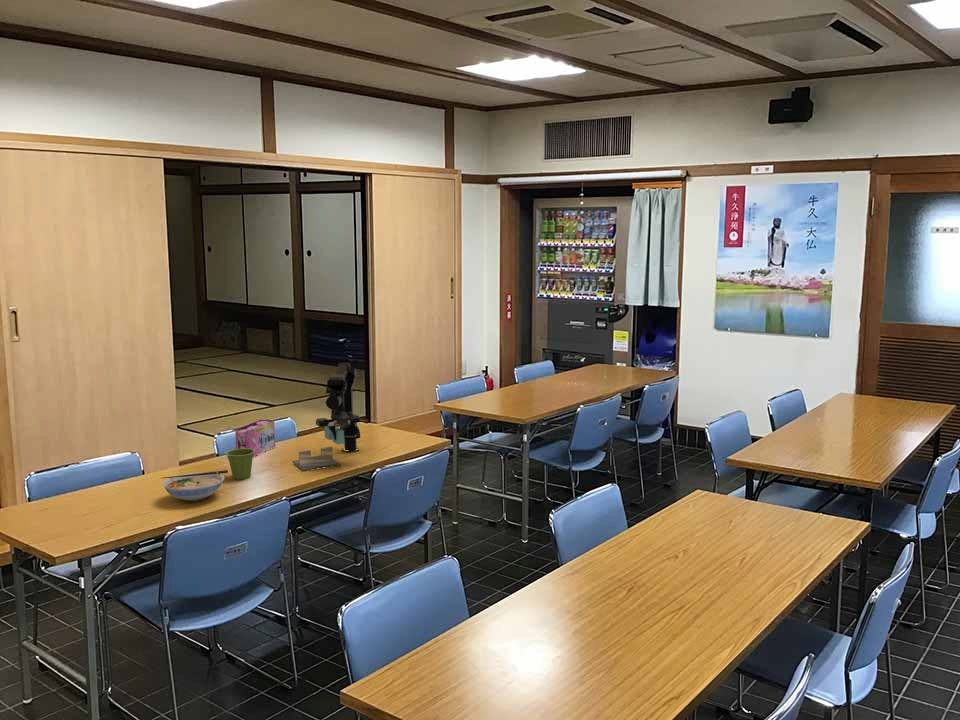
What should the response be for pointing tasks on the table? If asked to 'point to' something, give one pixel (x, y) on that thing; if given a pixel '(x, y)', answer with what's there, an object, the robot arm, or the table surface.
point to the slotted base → (316, 465)
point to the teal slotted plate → (338, 435)
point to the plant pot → (240, 462)
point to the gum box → (256, 436)
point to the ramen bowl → (194, 485)
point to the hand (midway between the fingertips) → (338, 439)
